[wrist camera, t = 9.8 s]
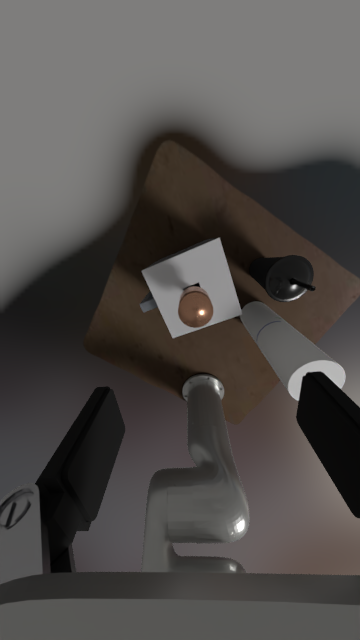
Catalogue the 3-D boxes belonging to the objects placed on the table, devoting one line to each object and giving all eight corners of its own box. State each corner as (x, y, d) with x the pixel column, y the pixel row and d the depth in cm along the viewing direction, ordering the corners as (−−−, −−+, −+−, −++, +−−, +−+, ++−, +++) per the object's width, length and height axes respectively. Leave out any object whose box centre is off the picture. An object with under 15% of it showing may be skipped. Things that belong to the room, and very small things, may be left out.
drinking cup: (260, 243, 41) (318, 245, 23) (284, 265, 43) (356, 283, 24) (236, 272, 44) (270, 294, 26) (259, 291, 45) (308, 325, 27)
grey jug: (207, 239, 41) (219, 237, 26) (223, 288, 46) (242, 314, 30) (143, 266, 44) (118, 280, 28) (164, 311, 48) (152, 345, 33)
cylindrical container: (239, 303, 47) (289, 363, 24) (268, 299, 46) (349, 356, 23) (240, 329, 50) (286, 405, 26) (268, 325, 49) (341, 400, 26)
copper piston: (204, 248, 40) (222, 257, 19) (216, 287, 43) (245, 332, 22) (165, 265, 42) (142, 289, 20) (180, 301, 45) (174, 355, 24)
